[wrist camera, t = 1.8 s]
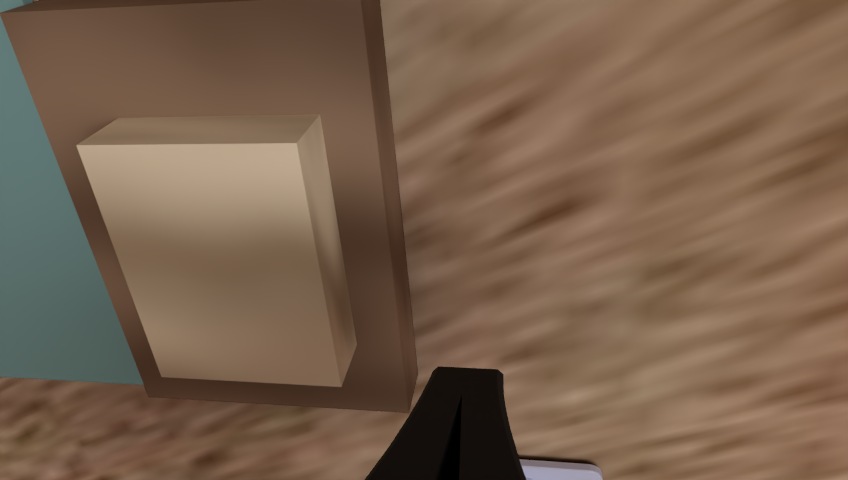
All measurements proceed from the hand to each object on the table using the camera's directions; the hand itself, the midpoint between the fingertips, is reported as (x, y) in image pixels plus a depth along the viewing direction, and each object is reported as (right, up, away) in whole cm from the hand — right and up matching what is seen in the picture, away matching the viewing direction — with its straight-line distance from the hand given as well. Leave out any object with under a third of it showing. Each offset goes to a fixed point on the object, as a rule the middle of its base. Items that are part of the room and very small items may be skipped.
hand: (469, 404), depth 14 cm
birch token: (-6, +3, +7) cm, 10 cm away
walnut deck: (-7, +4, +8) cm, 12 cm away
